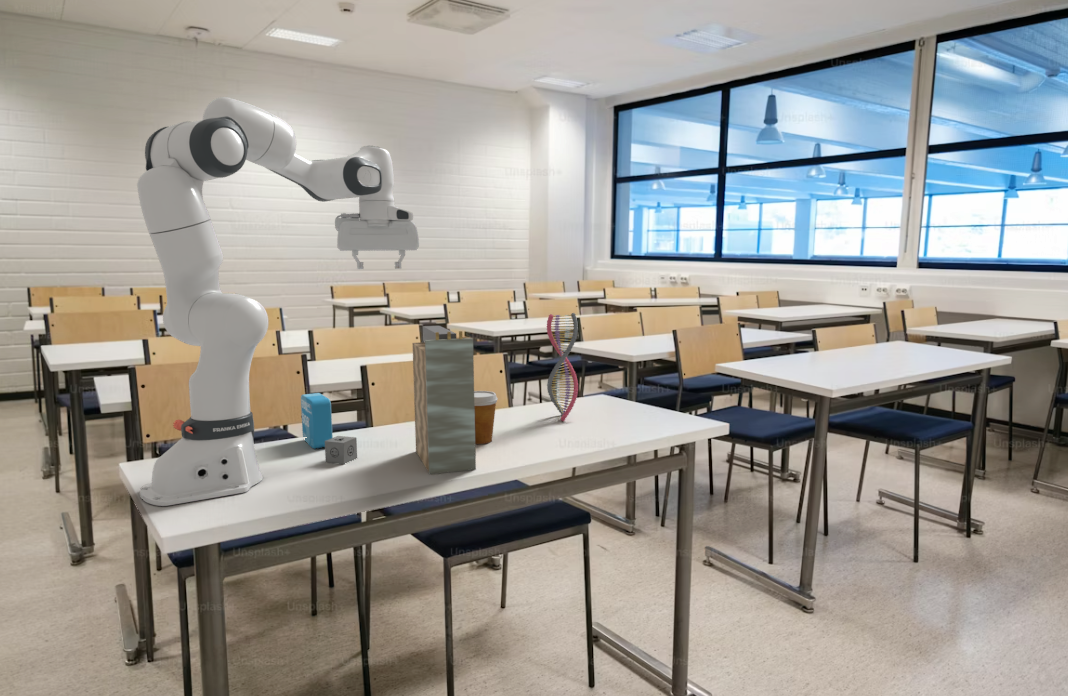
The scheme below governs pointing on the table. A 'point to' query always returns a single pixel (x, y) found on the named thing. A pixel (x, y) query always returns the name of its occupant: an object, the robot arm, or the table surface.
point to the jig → (444, 403)
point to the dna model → (561, 361)
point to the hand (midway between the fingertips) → (379, 268)
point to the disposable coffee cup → (484, 415)
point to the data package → (316, 419)
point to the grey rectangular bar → (430, 331)
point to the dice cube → (340, 449)
